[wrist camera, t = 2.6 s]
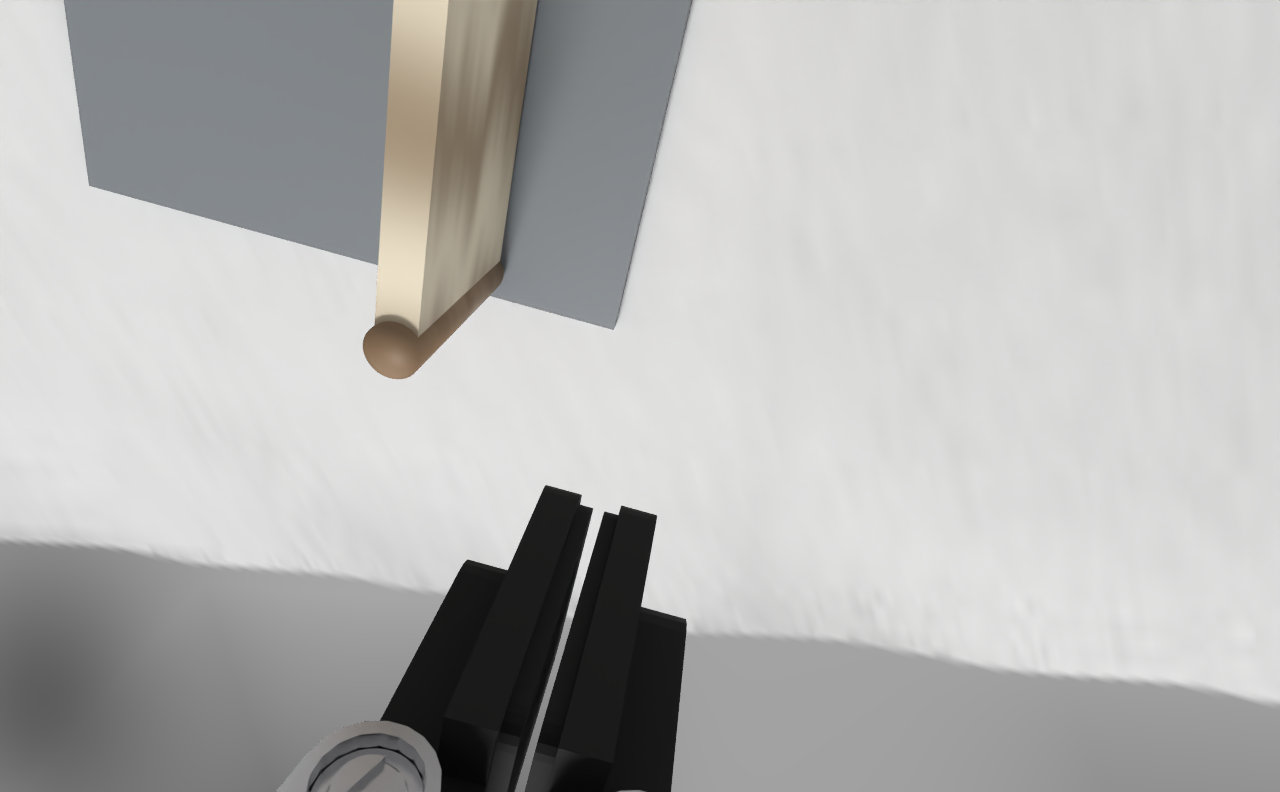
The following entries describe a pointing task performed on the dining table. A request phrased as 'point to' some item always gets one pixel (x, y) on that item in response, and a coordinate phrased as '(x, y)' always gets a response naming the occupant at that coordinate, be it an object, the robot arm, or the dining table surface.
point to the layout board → (375, 126)
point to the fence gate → (445, 169)
